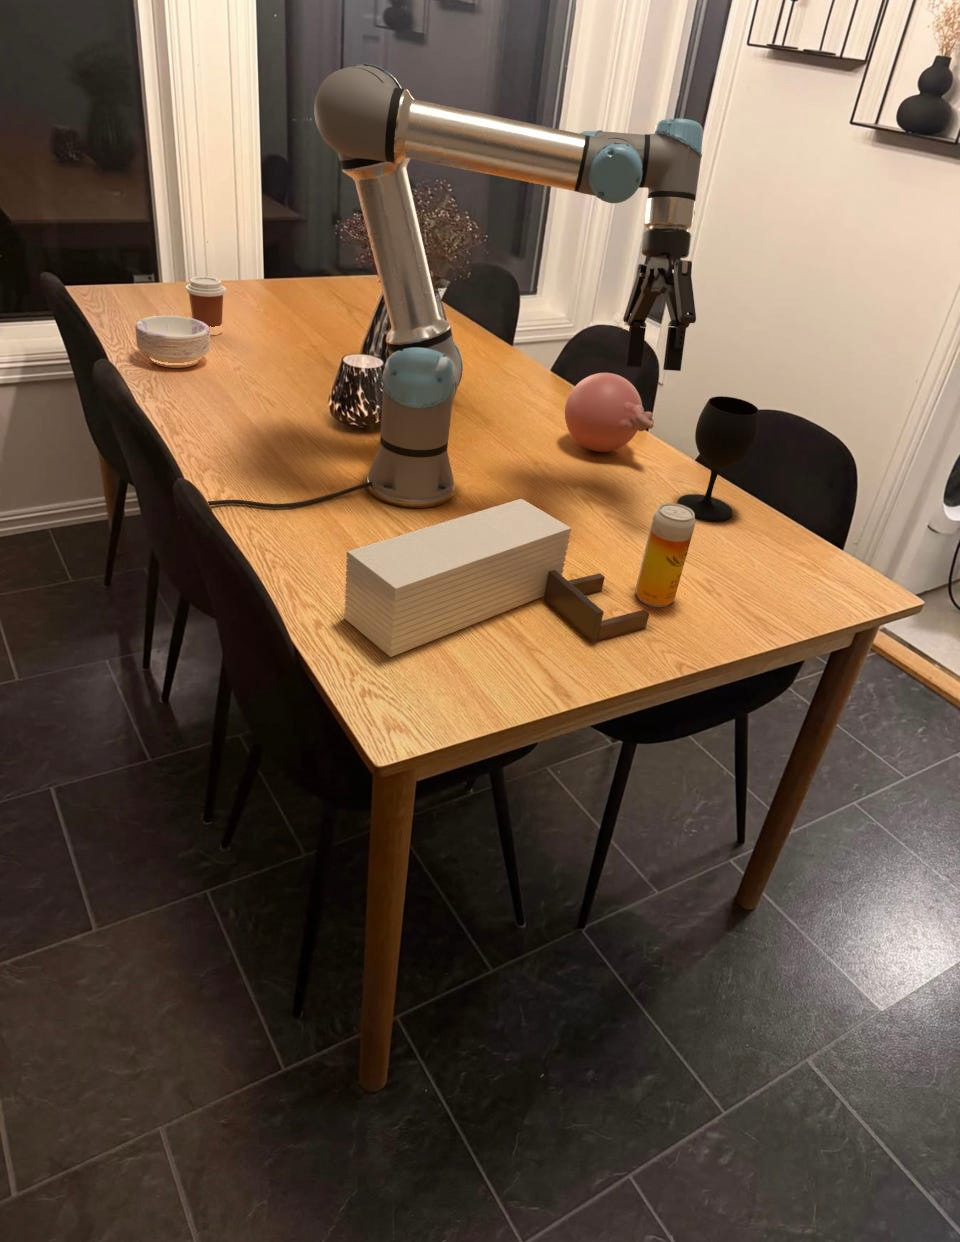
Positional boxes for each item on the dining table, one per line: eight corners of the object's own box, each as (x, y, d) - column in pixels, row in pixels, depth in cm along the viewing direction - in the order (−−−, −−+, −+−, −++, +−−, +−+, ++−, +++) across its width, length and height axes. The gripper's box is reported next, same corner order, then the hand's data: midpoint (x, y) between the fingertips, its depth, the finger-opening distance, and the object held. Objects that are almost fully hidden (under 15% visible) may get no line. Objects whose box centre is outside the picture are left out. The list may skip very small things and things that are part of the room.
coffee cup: (222, 339, 217) (220, 287, 211) (183, 335, 217) (180, 282, 210) (231, 328, 225) (229, 277, 218) (193, 324, 224) (190, 273, 218)
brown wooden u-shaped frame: (597, 586, 142) (603, 558, 140) (646, 627, 134) (653, 598, 132) (543, 599, 138) (548, 571, 135) (590, 642, 130) (597, 613, 127)
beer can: (673, 612, 139) (697, 524, 130) (633, 604, 139) (654, 516, 131) (674, 592, 144) (697, 506, 135) (635, 584, 144) (656, 498, 136)
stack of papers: (512, 559, 147) (521, 498, 141) (559, 590, 140) (571, 527, 134) (344, 618, 127) (346, 551, 122) (390, 657, 121) (395, 588, 115)
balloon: (612, 479, 176) (629, 402, 168) (543, 440, 189) (555, 367, 180) (666, 465, 185) (684, 391, 177) (596, 428, 197) (610, 358, 189)
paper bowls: (226, 363, 205) (224, 327, 200) (172, 378, 194) (170, 341, 189) (177, 345, 211) (174, 310, 206) (123, 359, 200) (119, 322, 195)
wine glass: (735, 504, 173) (765, 403, 162) (729, 527, 165) (761, 422, 154) (681, 491, 176) (707, 390, 165) (672, 513, 167) (699, 408, 156)
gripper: (731, 225, 136) (711, 373, 142) (652, 238, 159) (637, 366, 165) (686, 219, 134) (668, 370, 140) (612, 234, 157) (599, 363, 163)
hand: (651, 368), depth 153 cm, fingers open, 13 cm apart
